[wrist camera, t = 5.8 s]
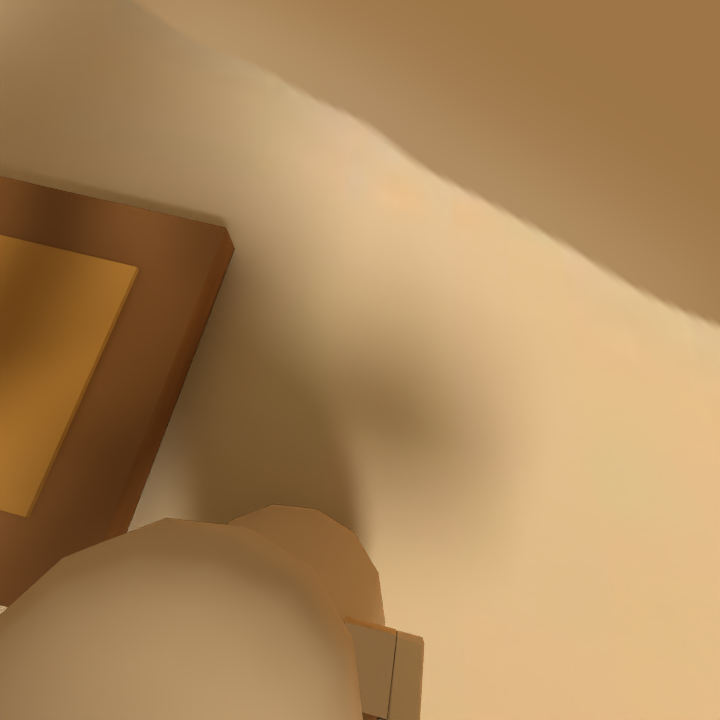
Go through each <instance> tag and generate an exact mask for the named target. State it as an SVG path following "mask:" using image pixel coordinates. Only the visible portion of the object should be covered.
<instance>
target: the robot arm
mask: <svg viewBox="0 0 720 720" xmlns="http://www.w3.org/2000/svg"><path fill="white" fill-rule="evenodd" d="M344 624H345V626H346V628H347V630H348V631H349V633H350V635H351V637H352V640H353V645H354V651H355V659H356V667H357V675H358V683H359V692H360V700H361V708H362V716H363V720H420V710H421V692H422V675H423V657H424V641H423V638H422V637H420V636H416V635H413V634H409V633H405V632H401V631H396V629H393V628H389V627H386V626H382V625H378V624H374V623H370V622H366V621H363V620H359V619H355V618H351V617H347V616H346V618H345V622H344Z"/></svg>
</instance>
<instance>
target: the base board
mask: <svg viewBox="0 0 720 720" xmlns="http://www.w3.org/2000/svg"><path fill="white" fill-rule="evenodd" d="M234 249H235V248H234V246H233V244H232V241H231V239H230V236H229V234H228V232H227V229H226V228H225V227H220V226H216V225H211V224H207V223H203V222H198V221H194V220H189V219H185V218H181V217H176V216H172V215H167V214H163V213H159V212H154V211H150V210H145V209H141V208H137V207H132V206H128V205H123V204H119V203H115V202H110V201H106V200H101V199H97V198H93V197H88V196H84V195H79V194H75V193H71V192H66V191H62V190H57V189H53V188H49V187H44V186H40V185H35V184H31V183H27V182H22V181H18V180H13V179H9V178H5V177H0V605H2V606H6V607H9V606H10V605H11V604H12V603H14V602H15V601H16V600H17V599H18V598H19V597H20V596H21V595H22V594H23V593H25V592H26V591H27V590H28V589H29V588H30V587H31V586H32V585H33V584H35V583H36V582H37V581H38V580H39V579H40V578H41V577H42V576H43V575H44V574H46V573H47V572H48V571H49V570H50V569H51V568H52V567H53V566H54V565H55V564H57V563H58V562H59V561H60V560H61V559H62V558H64V557H67V556H69V555H71V554H74V553H76V552H79V551H81V550H84V549H86V548H89V547H91V546H94V545H96V544H99V543H102V542H104V541H107V540H110V539H112V538H115V537H118V536H120V535H123V534H125V533H127V530H128V527H129V525H130V522H131V520H132V517H133V514H134V512H135V509H136V506H137V504H138V501H139V499H140V496H141V493H142V491H143V488H144V485H145V483H146V480H147V478H148V475H149V472H150V470H151V467H152V464H153V462H154V459H155V457H156V454H157V451H158V449H159V446H160V443H161V441H162V438H163V436H164V433H165V430H166V428H167V425H168V422H169V420H170V417H171V414H172V412H173V409H174V407H175V404H176V401H177V399H178V396H179V393H180V391H181V388H182V386H183V383H184V380H185V378H186V375H187V372H188V370H189V367H190V365H191V362H192V359H193V357H194V354H195V351H196V349H197V346H198V344H199V341H200V338H201V336H202V333H203V330H204V328H205V325H206V323H207V320H208V317H209V315H210V312H211V309H212V307H213V304H214V302H215V299H216V296H217V294H218V291H219V288H220V286H221V283H222V281H223V278H224V275H225V273H226V270H227V267H228V265H229V262H230V259H231V257H232V254H233V252H234Z"/></svg>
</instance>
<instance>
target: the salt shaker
mask: <svg viewBox="0 0 720 720" xmlns="http://www.w3.org/2000/svg"><path fill="white" fill-rule="evenodd" d="M346 616H347V617H351V618H355V619H359V620H363V621H366V622H370V623H374V624H378V625H382V626H384V625H385V618H384V611H383V604H382V596H381V589H380V581H379V574H378V571H377V570H376V568H375V566H374V565H373V563H372V562H371V560H370V558H369V557H368V555H367V553H366V552H365V550H364V548H363V547H362V545H361V544H360V542H359V540H358V539H357V537H356V535H355V534H354V532H352V531H350V530H349V529H347V528H346V527H344V526H343V525H341V524H339V523H338V522H336V521H335V520H333V519H332V518H330V517H328V516H327V515H325V514H324V513H322V512H321V511H319V510H317V509H313V508H303V507H294V506H284V505H275V504H272V505H270V506H267V507H265V508H262V509H259V510H257V511H254V512H252V513H249V514H246V515H244V516H241V517H239V518H236V519H233V520H231V521H230V522H229V523H228V524H227V525H224V524H216V523H207V522H198V521H189V520H181V519H172V518H165V519H162V520H160V521H157V522H154V523H152V524H149V525H146V526H144V527H141V528H139V529H136V530H133V531H131V532H128V533H125V534H123V535H120V536H118V537H115V538H112V539H110V540H107V541H104V542H102V543H99V544H96V545H94V546H91V547H89V548H86V549H84V550H81V551H79V552H76V553H74V554H71V555H69V556H67V557H64V558H62V559H61V560H60V561H59V562H58V563H57V564H55V565H54V566H53V567H52V568H51V569H50V570H49V571H48V572H47V573H46V574H44V575H43V576H42V577H41V578H40V579H39V580H38V581H37V582H36V583H35V584H33V585H32V586H31V587H30V588H29V589H28V590H27V591H26V592H25V593H23V594H22V595H21V596H20V597H19V598H18V599H17V600H16V601H15V602H14V603H12V604H11V605H10V606H9V607H8V608H7V609H6V610H5V611H4V612H2V613H1V614H0V720H363V716H362V708H361V700H360V692H359V683H358V675H357V667H356V659H355V651H354V645H353V640H352V637H351V635H350V633H349V631H348V630H347V628H346V626H345V624H344V622H345V618H346Z"/></svg>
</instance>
